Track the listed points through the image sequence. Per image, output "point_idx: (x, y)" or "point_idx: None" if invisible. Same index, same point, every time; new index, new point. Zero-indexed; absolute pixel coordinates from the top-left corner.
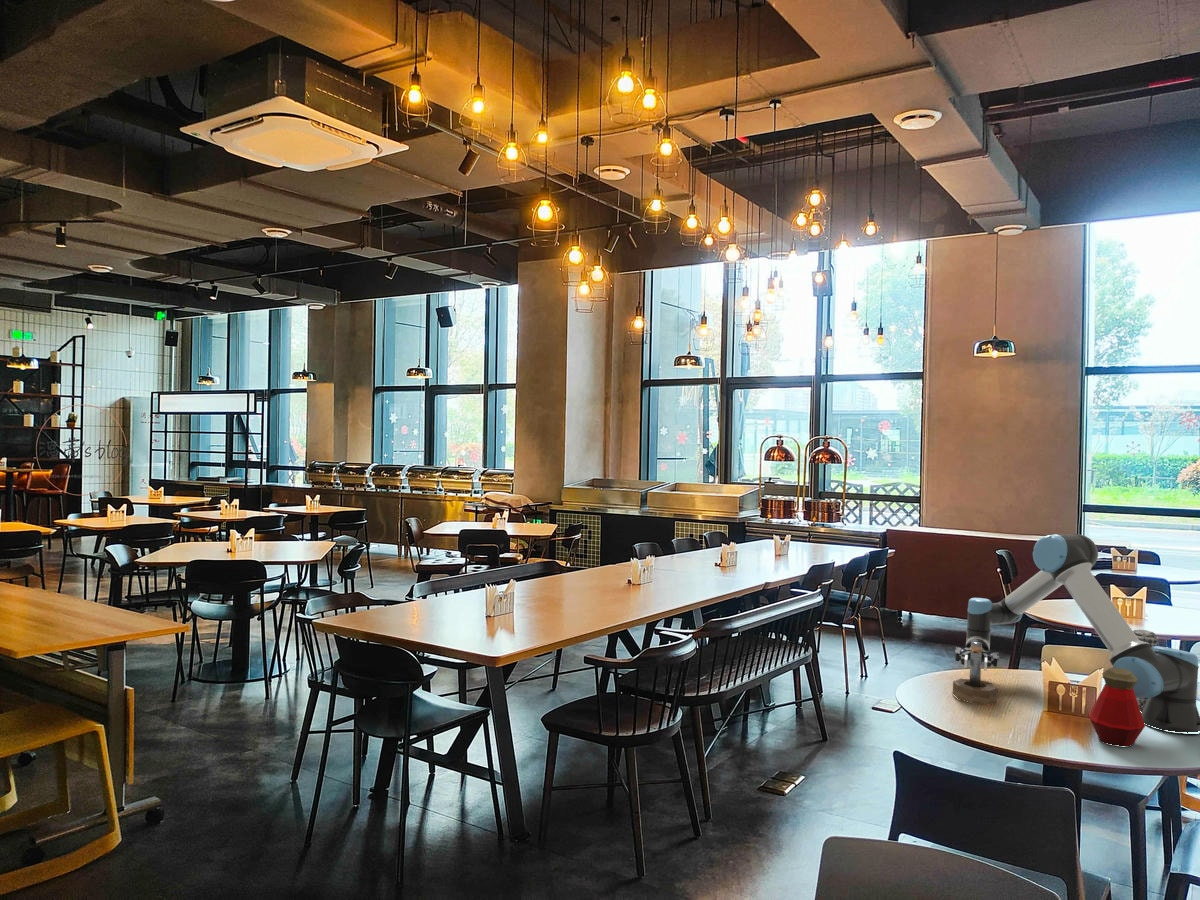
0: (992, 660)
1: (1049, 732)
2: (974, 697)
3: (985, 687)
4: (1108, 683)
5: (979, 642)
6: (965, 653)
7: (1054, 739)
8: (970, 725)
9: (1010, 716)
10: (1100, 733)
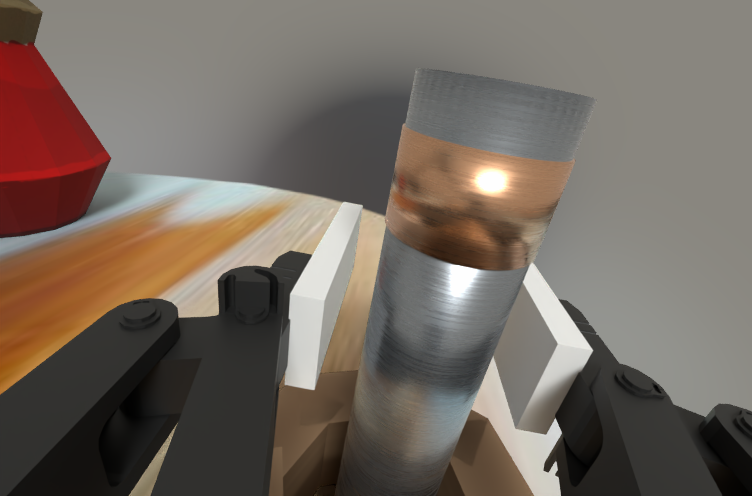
0: (213, 318)
1: (197, 241)
2: None
3: (306, 437)
4: (36, 33)
5: (462, 75)
6: (676, 484)
7: (216, 219)
8: None
9: None
10: (96, 187)
